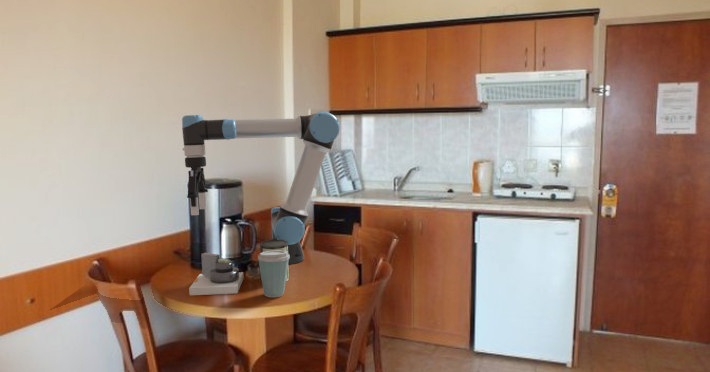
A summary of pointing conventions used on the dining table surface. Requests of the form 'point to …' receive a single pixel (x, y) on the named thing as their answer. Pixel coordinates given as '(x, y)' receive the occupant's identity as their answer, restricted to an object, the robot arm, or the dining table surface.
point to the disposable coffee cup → (273, 271)
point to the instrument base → (214, 286)
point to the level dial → (218, 268)
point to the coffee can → (275, 248)
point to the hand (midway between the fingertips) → (199, 212)
